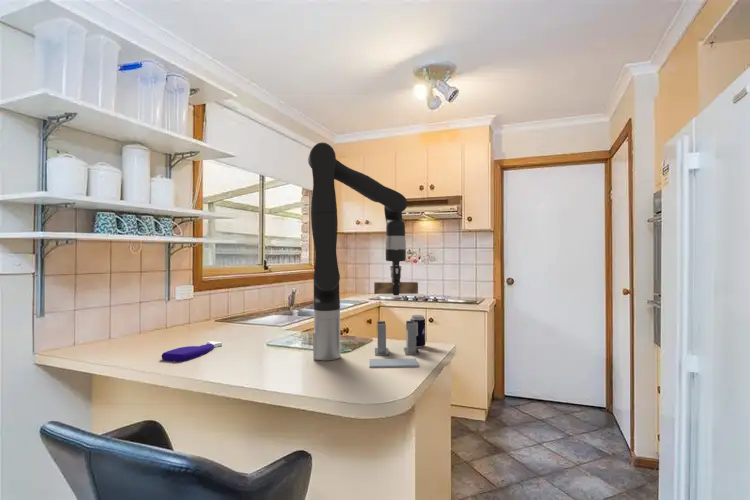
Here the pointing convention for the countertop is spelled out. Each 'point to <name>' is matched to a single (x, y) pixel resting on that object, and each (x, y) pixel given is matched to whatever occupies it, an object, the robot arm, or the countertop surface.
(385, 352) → the grey metal bracket
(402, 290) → the rail
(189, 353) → the purple flat tapered piece
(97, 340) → the countertop surface
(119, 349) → the countertop surface
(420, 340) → the beverage can
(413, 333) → the grey bracket
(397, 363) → the mat
